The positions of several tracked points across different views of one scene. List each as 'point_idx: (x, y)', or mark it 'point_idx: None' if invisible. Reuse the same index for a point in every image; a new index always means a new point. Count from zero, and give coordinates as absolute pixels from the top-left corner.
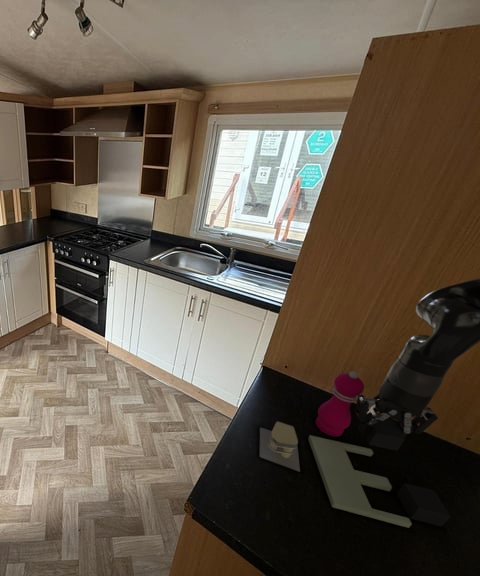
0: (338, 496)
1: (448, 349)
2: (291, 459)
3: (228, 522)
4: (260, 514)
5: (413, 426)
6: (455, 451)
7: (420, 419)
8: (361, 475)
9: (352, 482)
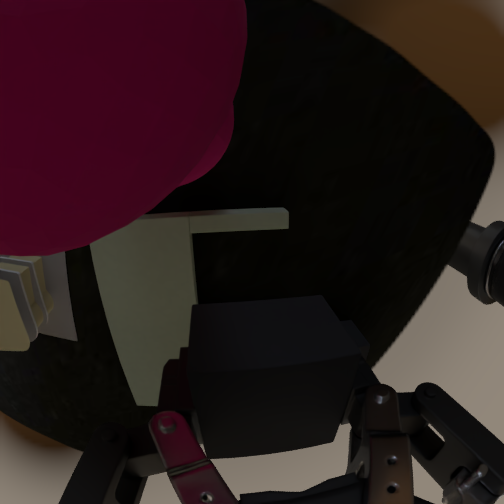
0: (145, 393)
1: None
2: (57, 313)
3: (24, 422)
4: (47, 414)
5: (408, 430)
6: (483, 144)
7: (446, 465)
8: None
9: None
